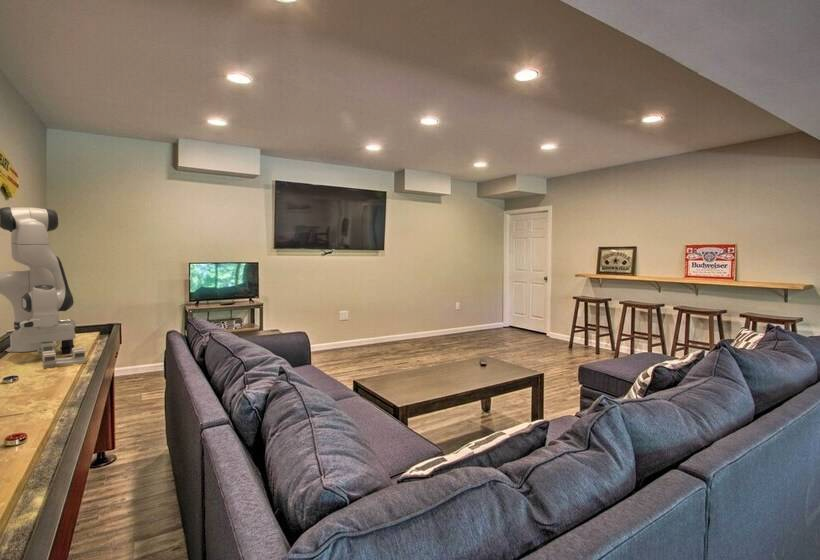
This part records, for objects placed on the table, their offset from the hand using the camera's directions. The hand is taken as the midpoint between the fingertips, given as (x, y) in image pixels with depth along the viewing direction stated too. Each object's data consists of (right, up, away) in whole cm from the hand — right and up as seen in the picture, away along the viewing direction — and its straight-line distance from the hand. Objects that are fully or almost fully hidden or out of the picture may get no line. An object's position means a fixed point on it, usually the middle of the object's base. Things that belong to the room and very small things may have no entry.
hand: (47, 351), depth 193 cm
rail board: (+12, -4, -6) cm, 14 cm away
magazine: (-3, -3, +16) cm, 17 cm away
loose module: (0, -4, 0) cm, 4 cm away
